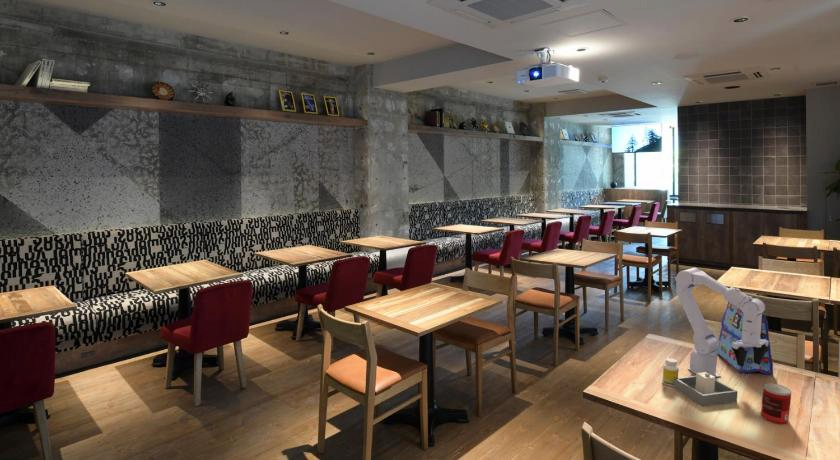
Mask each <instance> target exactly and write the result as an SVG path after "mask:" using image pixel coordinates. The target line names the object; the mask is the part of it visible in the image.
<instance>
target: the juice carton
mask: <svg viewBox="0 0 840 460" xmlns="http://www.w3.org/2000/svg"><path fill="white" fill-rule="evenodd" d="M695 374H696V375H695V376H696V387H695V390H697V391H698V392H700V393H702V394H703V395H704V394H711V393H714V386H715V379H716V377H714V376H712V375H710V374H709V373H706V372H701V373H695Z"/></svg>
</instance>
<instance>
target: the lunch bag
mask: <svg viewBox="0 0 840 460" xmlns="http://www.w3.org/2000/svg"><path fill="white" fill-rule="evenodd" d="M760 314H762V319H761V320H762V322H761V333H760V339H765V340H767V341H769V342H768V346H766V347H768V348H769V350H768V351H767V352H766V354H765V355H764V357H763V359H762V361H761V363H760V365H758V364H756V363H754V351H753V347H744V348H743V349H744V350H746V351H748V353H747V354H746V357H745V361H744V366H743V367H741V366H739V365H737V360H736V356H735V354H734V352H733V350H732V343H733V342H737V341H739V340H742V329H743V318H744V313H743V312H742V310H741V309H740V308H738V307H736V306H735V305H733V304H731V303H730V302H728V301H727V305H726V308H725V310H724V314H723V316H722V319H721V325H720V326H721V328H720V333H719V338H718V339H719V340H720V343H721V346H720V348H719V349H718V350H717V355H719V356H720V357H722V359H724V360H725V361H726V362H727V363H729V364H730V366H732V367H733V368H734V369H735V370H736V371H738V372H739V373H740V374H742V375H743V374H746V373H755V372H759V373H762V374H766V375H770V376H772V375H774V369H773V368H774V363H773V362H774V361H773V357H772V352H771V342H770V336H769V323H768V320H767V318H766V314H764V312H762V313H760Z"/></svg>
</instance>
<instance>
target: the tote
mask: <svg viewBox="0 0 840 460" xmlns="http://www.w3.org/2000/svg"><path fill="white" fill-rule="evenodd" d="M695 387H696V375H691V376H681V377H678V378H674V386H673V389H674V390H676V391H677V392H679V393H681V394H683V395H684V396H686V397H687V398H688V399H690V400H692V402H695V403H696V404H698V405H700V406H701V407H707V406H713V405H715V406H716V405H721V404H729V403H737V401H738V390H736V389H734V388H733V387H731V386H729V385H727V384H725V383H723V382H722V381H719V380H717V379H716V378H715V386H714V393H711V394H704V395H703V394H702V393H700V392H698V391H697V390H695Z"/></svg>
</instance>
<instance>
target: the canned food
mask: <svg viewBox="0 0 840 460" xmlns="http://www.w3.org/2000/svg"><path fill="white" fill-rule="evenodd" d="M791 398H792V390H791V389H790V388H788V386H785V385H782V384H778V383H772V382H771V383H765V384H763V388H762V400H761V409H760V410H761V412H760V413H761V416H762V419H764V420H766V421H767V422H770V423H772V424H776V425H786V424H788V422H789V419H790V410H791V400H792V399H791Z"/></svg>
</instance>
